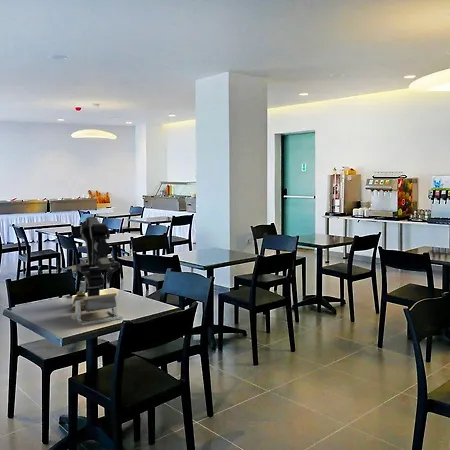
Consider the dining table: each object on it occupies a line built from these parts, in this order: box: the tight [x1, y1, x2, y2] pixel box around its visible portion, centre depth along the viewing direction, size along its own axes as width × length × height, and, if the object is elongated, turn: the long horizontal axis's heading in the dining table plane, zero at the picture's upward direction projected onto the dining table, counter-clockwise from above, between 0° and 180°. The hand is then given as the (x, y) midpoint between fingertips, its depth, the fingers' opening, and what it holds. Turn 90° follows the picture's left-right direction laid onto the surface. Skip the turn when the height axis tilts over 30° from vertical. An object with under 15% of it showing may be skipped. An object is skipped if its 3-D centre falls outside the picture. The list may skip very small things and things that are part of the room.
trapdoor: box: [71, 292, 118, 313], centre depth 219 cm, size 16×14×6 cm
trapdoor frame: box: [70, 295, 124, 326], centre depth 217 cm, size 13×18×8 cm
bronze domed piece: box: [71, 290, 87, 312], centre depth 231 cm, size 8×7×8 cm
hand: (98, 284), depth 232 cm, fingers open, 9 cm apart
